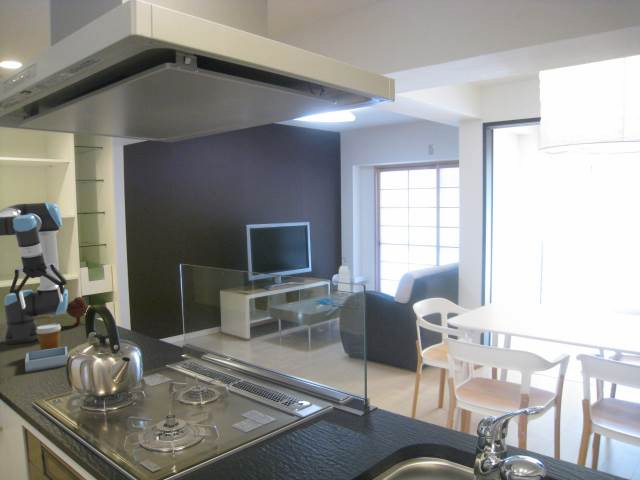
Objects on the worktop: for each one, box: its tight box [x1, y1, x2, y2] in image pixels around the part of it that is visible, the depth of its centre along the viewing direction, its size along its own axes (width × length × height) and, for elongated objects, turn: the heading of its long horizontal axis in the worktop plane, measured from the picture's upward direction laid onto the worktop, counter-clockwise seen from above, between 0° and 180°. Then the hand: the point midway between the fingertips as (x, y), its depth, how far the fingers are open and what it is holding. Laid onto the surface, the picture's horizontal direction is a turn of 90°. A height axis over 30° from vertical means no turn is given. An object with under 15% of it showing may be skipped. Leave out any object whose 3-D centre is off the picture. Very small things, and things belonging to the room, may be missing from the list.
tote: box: [24, 346, 69, 373], centre depth 201 cm, size 15×15×4 cm
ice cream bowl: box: [66, 296, 90, 327], centre depth 266 cm, size 11×11×15 cm
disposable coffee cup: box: [36, 323, 62, 350], centre depth 214 cm, size 10×10×12 cm
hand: (43, 304), depth 203 cm, fingers open, 13 cm apart
